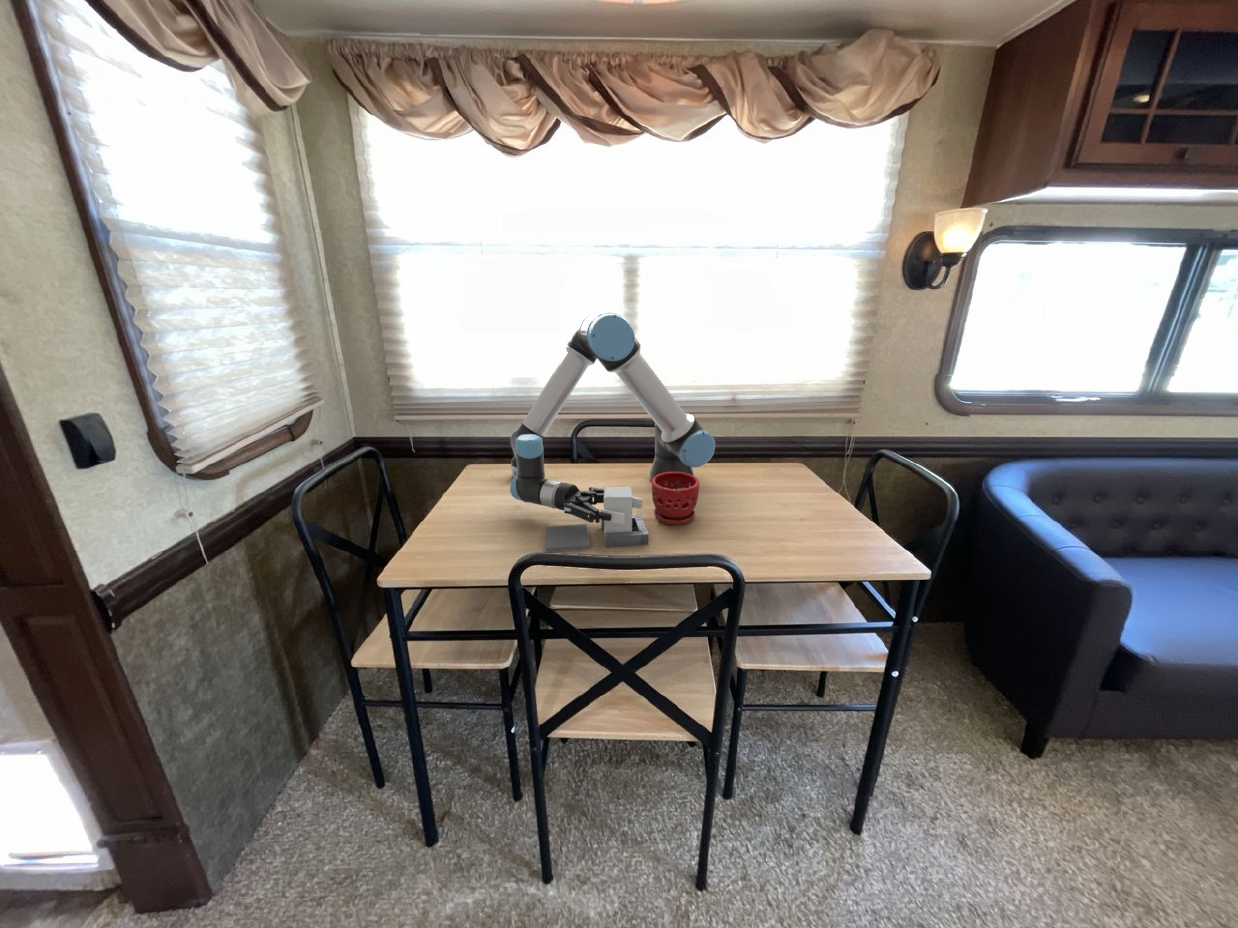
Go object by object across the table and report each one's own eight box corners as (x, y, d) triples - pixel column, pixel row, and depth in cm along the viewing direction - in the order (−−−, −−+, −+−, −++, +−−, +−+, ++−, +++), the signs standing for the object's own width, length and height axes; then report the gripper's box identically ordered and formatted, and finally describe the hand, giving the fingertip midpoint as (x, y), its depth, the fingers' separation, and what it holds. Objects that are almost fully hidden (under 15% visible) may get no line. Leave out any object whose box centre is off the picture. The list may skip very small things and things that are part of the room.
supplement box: (632, 542, 127) (632, 497, 123) (603, 542, 127) (602, 497, 123) (632, 529, 134) (631, 486, 130) (604, 529, 134) (603, 486, 130)
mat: (586, 527, 135) (586, 524, 135) (589, 548, 124) (589, 545, 124) (546, 529, 134) (546, 526, 134) (545, 551, 123) (545, 548, 123)
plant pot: (643, 513, 143) (643, 475, 139) (682, 505, 148) (684, 468, 144) (664, 532, 132) (665, 491, 128) (706, 523, 137) (708, 483, 133)
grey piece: (640, 523, 137) (640, 514, 136) (648, 544, 126) (648, 534, 125) (601, 526, 136) (601, 516, 135) (605, 547, 125) (605, 537, 124)
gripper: (582, 494, 146) (651, 508, 136) (537, 524, 128) (612, 542, 118) (581, 470, 144) (651, 483, 134) (535, 497, 125) (612, 514, 115)
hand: (633, 511), depth 126 cm, fingers closed on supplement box, 9 cm apart
